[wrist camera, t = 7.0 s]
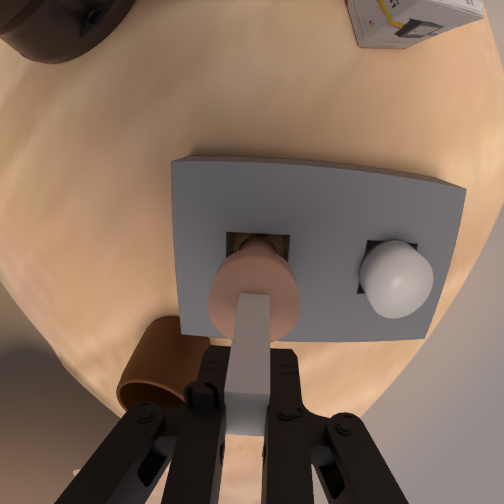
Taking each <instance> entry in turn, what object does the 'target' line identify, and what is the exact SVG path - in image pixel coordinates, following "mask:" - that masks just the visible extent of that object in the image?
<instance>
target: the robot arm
mask: <svg viewBox="0 0 504 504" xmlns="http://www.w3.org/2000/svg"><path fill="white" fill-rule="evenodd" d="M134 1H135V0H0V38H1V39H2V40H3V41H5V42H6V43H7V44H8V45H10V46H11V47H12V48H14V49H15V50H16V51H18V52H19V53H20V54H21V55H22V56H23V57H25V58H27V59H29V60H32V61H36V62H42V63H47V64H56V63H62V62H66V61H69V60H71V59H74V58H76V57H78V56H80V55H82V54H83V53H85V52H87V51H88V50H90V49H91V48H93V47H94V46H95V45H97V44H98V43H99V42H100V41H101V40H103V39H104V38H105V37H106V36H107V35H108V34H109V33H110V32H111V31H112V30H113V29H114V28H115V27H116V26H117V25H118V24H119V22H120V21H121V20H122V19H123V18H124V16H125V15H126V13H127V12H128V11H129V9H130V8H131V6H132V4H133V3H134ZM183 394H184V399H185V404H183V405H180V406H177V407H171V408H161V407H160V406H159V405H158V404H156V403H155V402H151V401H140V402H137V403H135V404H133V405H132V406H131V407H130V408H129V409H128V410H127V412H126V413H125V414H124V416H123V417H122V418H121V419H120V421H119V422H118V423H117V424H116V426H115V427H114V428H113V430H112V431H111V432H110V433H109V435H108V436H107V437H106V438H105V440H104V441H103V442H102V443H101V445H100V446H99V447H98V449H97V450H96V451H95V453H94V454H93V455H92V456H91V458H90V459H89V460H88V461H87V463H86V464H85V465H84V466H83V468H82V469H81V470H80V471H79V473H78V474H77V475H76V476H75V478H74V479H73V480H72V482H71V483H70V484H69V485H68V487H67V488H66V489H65V490H64V492H63V493H62V494H61V496H60V497H59V498H58V500H57V501H56V502H55V503H54V504H145V502H146V501H147V499H148V497H149V496H150V494H151V493H152V491H153V489H154V488H155V486H156V484H157V483H158V481H159V479H160V478H161V476H162V474H163V473H164V471H165V469H166V468H167V466H168V464H169V463H170V461H171V464H170V468H169V472H168V476H167V480H166V484H165V488H164V493H163V497H162V501H161V504H218V499H219V491H220V483H221V475H222V467H223V459H224V451H225V434H233V435H248V436H264V446H263V453H262V457H263V468H262V494H261V504H314V495H313V482H312V469H311V464H313V465H314V468H315V470H316V473H317V475H318V478H319V480H320V483H321V485H322V488H323V490H324V493H325V495H326V498H327V500H328V503H329V504H409V503H408V501H407V500H406V498H405V496H404V494H403V492H402V491H401V489H400V487H399V485H398V484H397V482H396V480H395V478H394V476H393V475H392V473H391V471H390V469H389V468H388V466H387V464H386V462H385V460H384V459H383V457H382V455H381V454H380V452H379V450H378V448H377V446H376V445H375V443H374V441H373V439H372V438H371V436H370V434H369V432H368V431H367V429H366V427H365V425H364V423H363V422H362V421H361V419H360V418H359V417H357V416H356V415H354V414H351V413H346V412H344V413H338V414H335V415H333V416H332V417H331V418H327V417H323V416H319V415H316V414H313V413H311V412H310V411H308V410H307V409H306V408H305V406H304V405H303V402H302V396H301V386H300V376H299V367H298V358H297V356H296V354H295V353H294V352H293V350H292V349H276V348H270V295H262V294H244V293H240V295H239V301H238V308H237V314H236V320H235V326H234V332H233V339H232V345H231V347H228V346H216V345H210V346H209V347H208V348H207V349H206V350H205V351H204V353H203V357H202V360H201V364H200V369H199V372H198V376H197V379H196V380H195V381H192V382H190V383H189V384H187V385H186V386H185V388H184V390H183ZM171 459H172V460H171Z"/></svg>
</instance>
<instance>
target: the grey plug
mask: <svg viewBox="0 0 504 504" xmlns="http://www.w3.org/2000/svg"><path fill="white" fill-rule="evenodd" d="M360 283H361V287H362V289H363V291H364V292H365V294H366V296H367V298H368V300H369V302H370V303H371V305H372V307H373V309H374V310H375V311H376V312H377V313H378V314H379V315H381V316H383V317H386V318H401V317H404V316H407V315H409V314H411V313H413V312H414V311H416V310H417V309H418V308H419V307H420V306H421V305H422V304H423V303H424V302H425V301H426V299H427V298H428V296H429V294H430V292H431V289H432V285H433V271H432V268H431V266H430V264H429V262H428V261H427V260H426V259H425V258H424V257H423V256H421V255H420V254H419V253H418V252H417V251H416V250H415V249H414V248H413V247H412V246H410V245H409V244H408V243H406V242H403V241H398V240H392V241H376V240H367V245H366V250H365V256H364V261H363V264H362V266H361V270H360Z"/></svg>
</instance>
